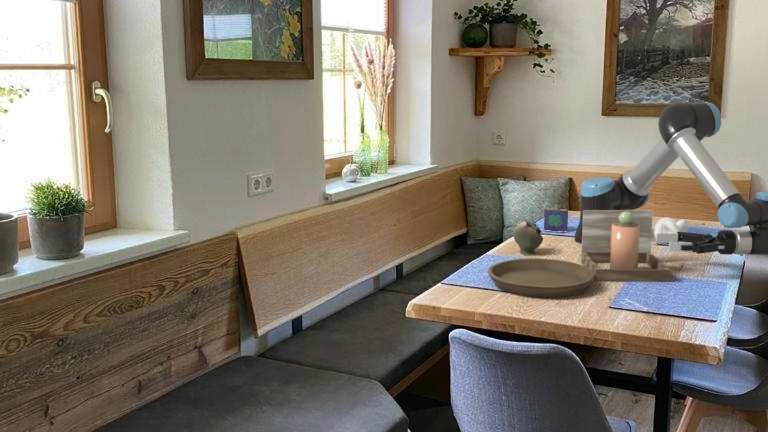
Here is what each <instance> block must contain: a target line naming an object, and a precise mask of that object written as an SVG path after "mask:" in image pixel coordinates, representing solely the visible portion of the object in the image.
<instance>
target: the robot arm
mask: <svg viewBox="0 0 768 432" xmlns="http://www.w3.org/2000/svg"><path fill="white" fill-rule="evenodd" d="M657 122H658V124H657V125H658V131H659V134H660V137H661V139H659V141H658V142H657V143H656V144H655V145H654V146H653V147H652V148H651V149H650V151H648V152H647V153H646V155H645V156H643V158H642V159H641V160H639V162H638V163H637V164H636V165H635V166H634V167H633V168H632V169H627V170H625V171H624V172H623V173H622V174H621V176H619V177H618V178H617V179H614V178H613V177H609V176H599V177H598V176H597V177H590V178H588V179H585V180H584V181H583V182H582V183H581V190H580V211H579V212H580V213H579V214H580V215H579V217H580V218H579V223H578V225H577V227H576V231H575V234H574V241H575V242H576V243H579V244H582V229H583V210H638V209H641V208H642V207H643V206H644V205H646V204H647V202H648V201H649V198H650V196H649V195H650V194H651V193H650V192H651V189H652V187H651V185H652V184H654V183H655V182H656V181H657V180H658V178H659V177H661V175H663V173H665V171H666V170H667V169H668V168H670V166H671V165H672V164H673V163H674V162H675V161H676V160H677V159H679V158H680V159H681V161H683V163H684V164H685V166H686V167H687V168H688V170H689V171H690V172H691V173H692V175H693V177H694V178H695V179H696V180H697V181H698V183H699V184H700V186H701V187H702V188H703V190H704V191H705V192H706V194H707V195H708V196H709V198H710V199H711V200H712V202H713V203H714V205H715V206H716V207H717V208H718V210H717V219H718V221H719V223H720V225H722V226H723V227H725V228H727V229H725V230H722V229H721V230H719V231H718V232H717V235H716V236H713V234H710V233H698V232H697V233H696V232H695V233H694V232H677V233H663V232H662V233H657V236H656V239H655V242H656V243H659V242H669V243H668V252H669V253H671V252H672V253H676V252H677V253H678V252H679V253H682V252H683V253H685V252H686V253H691V252H692V253H696V254H698V255H699V254H708V253H717V252H718V253H719V255H728V256H729V255H739V256H740V257H744V255H758V256H759V255H761V256H763V255H765V256H766V255H768V191H765V190H763V191H762V190H761V191H758V192H756V193H755V195H754V198H753V200H746V199H745V198H744V196H743V195H742V194H741V192H740V191H739V190H738V189H737V188H736V186H735V185H734V183H732V181H731V180H730V178H729V177H728V176H727V175H726V173H725V172H724V171H723V169H722V168H721V166H720V165H719V164H718V163H717V162H716V160H715V159H714V158H713V156H712V155H711V154H710V152H709V151H708V149H706V147H705V146H704V144H703V143H702V140H704V139H705V138H710V137H712V136H715V135H716V134H717V133H718V132H719V131H720V129H721V127H722V114H721V112H720V109H719V108H718V107H717V106H716V104H714V103H712V102H708V101H693V102H692V101H688V102H675V103H674V102H673V103H672V104H669V105H668V106H666V107H665V108H664V109H663V110H662V112H661V113H660V115H659V118H658V121H657ZM749 226H752V230H748V229H745V230H744V229H742V228H744V227H749ZM740 228H741V229H740ZM729 229H734V230H729ZM735 229H737V230H735ZM739 229H740V230H739ZM681 236H682V238H681ZM679 241H681V242H679Z"/></svg>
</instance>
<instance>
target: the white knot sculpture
mask: <svg viewBox="0 0 768 432" xmlns="http://www.w3.org/2000/svg"><path fill="white" fill-rule="evenodd" d="M688 227H689V221H688V220H686V219H684V218H683V219H679V220H678V221H677V222H676V221H675V220H674V219H673V218H672V217H666V216H665V217H661V218H660V219H659V220H657V222H656V223H655V225H654V230H653V236H654V239H655V240H656V236H657V233H677V232H686V231H687V230H688ZM681 238H682V236H681ZM679 242H681V241H679ZM658 243H660V244H662V245H666V244H669V242H658Z"/></svg>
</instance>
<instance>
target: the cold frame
mask: <svg viewBox="0 0 768 432" xmlns="http://www.w3.org/2000/svg"><path fill="white" fill-rule="evenodd" d="M625 211H627V212H630V213H631V214H632V215H633V222H635V223H638V224H639V225H640V234H639V254H638V264H647V265H648V266H649V267H650V268H646V269H645V268H643V269H642V268H638V269H610V268H599V267H598V266H597V264H610V252H611V229H612V223H613V222H617V221H619V215H620V214H621V213H622V212H625ZM652 229H653V210H652V209H634V210H583V229H582V243H581V257H580V258H581V259H580V261H581V265H583V266H585V267H588V268H589V269H591V270H592V271H593V272H594V274H595V277H594V280H593V281H595V282H631V283H632V282H639V283H640V282H641V283H642V282H644V283H645V282H648V283H651V282H652V283H654V282H655V283H657V282H658V283H665V282H667V283H670V282H671V280H672V270H671V268H669V267H668V266H666V265H665V264H664V263H663V262H662V261H661V260H660V259H659V258H657V257H656V256H655V255H653V254H652V253H651V248H652V232H653V231H652Z"/></svg>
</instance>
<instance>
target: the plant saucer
mask: <svg viewBox="0 0 768 432" xmlns="http://www.w3.org/2000/svg"><path fill="white" fill-rule="evenodd" d="M487 274H488V276H489V277H490V279H491V281H493V283H495V285H496V286H497V288H499V289H501V291H504V292H506V293H507V292H508V293H510V294H515V295H519V296H525V297H535V298H559V297H569V296H574V295H577V294H580V293H582V292H584V291H585V290H586V289H587V287H588V286H590V285H591V284H592V283H593V281H595V280H594V277H595V274H594V272H593V271H592V270H591V269H589V268H588V267H585V266H584V265H583V264H580V263H577V262H572V261H567V260H566V261H565V260H560V259H554V258H553V259H552V258H551V259H550V258H539V257H538V258H529V257H528V258H516V259H508V260H503V261H499V262H496V263H494V264H492V265H491V266H489V268H488V270H487Z"/></svg>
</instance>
